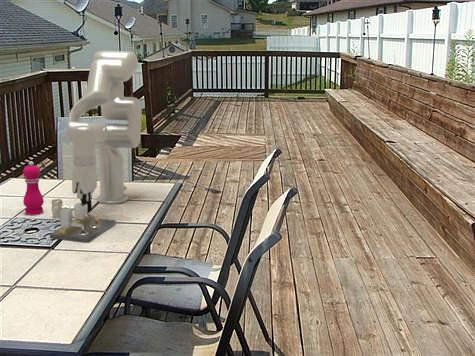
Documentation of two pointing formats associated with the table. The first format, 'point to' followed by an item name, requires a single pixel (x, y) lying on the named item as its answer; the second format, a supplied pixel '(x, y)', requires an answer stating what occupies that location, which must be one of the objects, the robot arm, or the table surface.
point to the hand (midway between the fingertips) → (86, 210)
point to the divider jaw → (83, 212)
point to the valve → (59, 207)
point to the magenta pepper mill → (32, 190)
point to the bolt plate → (80, 228)
